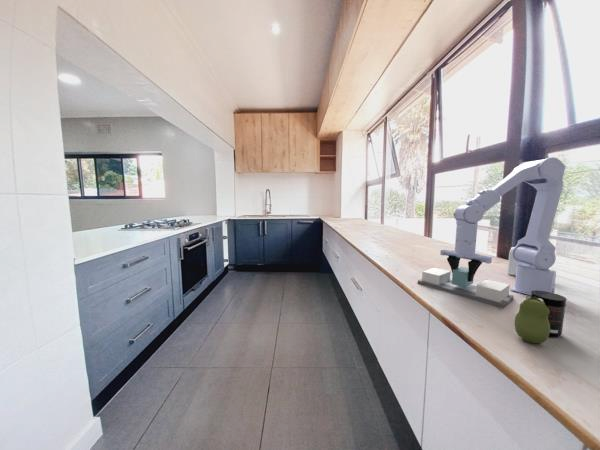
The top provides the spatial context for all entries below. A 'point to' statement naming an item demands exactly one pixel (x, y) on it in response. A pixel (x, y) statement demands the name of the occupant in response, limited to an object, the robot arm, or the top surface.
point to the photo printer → (512, 264)
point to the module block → (461, 277)
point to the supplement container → (553, 310)
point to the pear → (533, 320)
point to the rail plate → (468, 287)
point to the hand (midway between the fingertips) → (462, 279)
